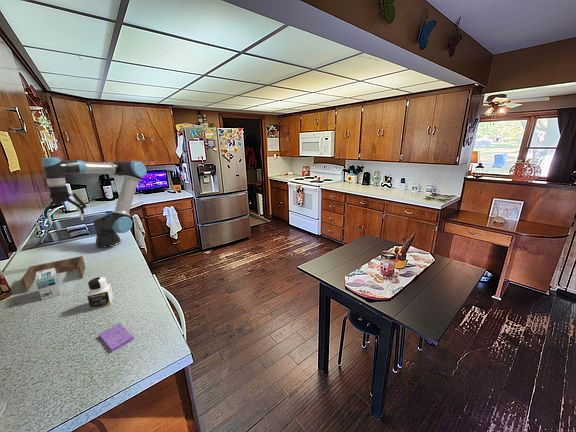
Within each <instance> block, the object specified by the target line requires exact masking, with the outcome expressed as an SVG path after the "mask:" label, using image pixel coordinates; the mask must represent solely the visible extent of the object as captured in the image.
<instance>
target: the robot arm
mask: <svg viewBox="0 0 576 432" xmlns="http://www.w3.org/2000/svg"><path fill="white" fill-rule="evenodd" d="M41 159H42V161H41V166H42V165H43V167H42V169H43V173H44V176H45V180H46V184H47V186H48V190H49V193H50V194H48V196H47V200H49V199H51V200H52V201H51V202H50V203H49V205H48V206H47V207H46V208H45V209H44V210H45V211H44V213H43V215H44V218H45V219H46V220H47V219H48V222H49V225H52V224H53V220H52V217H51V213H50V212H49V210H50V209H51V208H52V207H53V206H54V205H55V203H65V202H68V203H70V204H72V205H73V206H75V207H76V208H78V212H79V217H80V220H81V221H83V220H84V216H83V215H84V214H85V210H84V209H86V208H87V207H88V206H87V205H86V203H84V201H83V200H81V199H80V198H79V196H78V194H77V193H76V192H73V193H70V192H69V190H68V189H69V188H68V186H67V180H66V177H65V175H69V174H71V175H72V174H95V175H96V174H102V175H103V174H104V175H105V174H106V175H107V174H108V175H109V176H119V177H122V179H123V181H122V185H121V188H120V192H119V195H118V198H117V202H116V205H115V209H114V210H113V211H111V212H105V213H104V212H103V213H101V214H96V215H94V216H92V223H93V226H94V231H95V235H96V238H95V242H94V244H95V247H96V246H97V247H96V248H98V247H104V246H110V245H114V244H116V243H119V242H120V241H121V242H122V240H121V237H120V236H119V234H125V233H127V232H128V231H130V230H131V228H132V227H133V220H132V219H131V214H130V211H131V206H132V204H133V199H134V196H135V192H136V189H137V186H138V184H139V182H141V180H142V178H144V177H146V175H147V167H146V166H145V164H144V163H143V162H141V161H140V160H139V161H138V160H121V161H107V162H94V161H93V162H92V161H84V160H80V159H79V160H78V159H77V160H75V159H74V160H69V159H68V160H61V159H60V157H41ZM70 197H72V198H74V199H75V200H76V201H77V202H78V203H79V204H78V203H77V202H76V201H74V200H73V199H72V198H70ZM119 244H120V243H119Z"/></svg>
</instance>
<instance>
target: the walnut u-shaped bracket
mask: <svg viewBox="0 0 576 432" xmlns="http://www.w3.org/2000/svg"><path fill="white" fill-rule="evenodd" d="M51 268H55V270H56V273H58V274H61V273H66V272H69V271H75V270H77V272H78V275H79V276H78V277H79V279H80V280H83V279H84V274H85V269H86V264H85V260H84V257H83V256H82V255H80V256H76V257H71V258H65V259H60V260H55V261H51V262H50V261H49V262H46V263H41V264H36V265H30V266H29V267H28V269H27V270H26V271H25V272H24V275H23V276H22V277H21V278H20V282H21V286H22V289H23V291H24V293H28V292H29V291H30V289H31V287H32V286H33V284H34V283H35V281H34V280H35V277H36V272H38V271H43V270H47V269H51ZM31 285H32V286H31Z"/></svg>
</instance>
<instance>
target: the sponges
mask: <svg viewBox="0 0 576 432" xmlns="http://www.w3.org/2000/svg"><path fill="white" fill-rule="evenodd" d="M98 337H99V339H101V341H102V342H103V343H104V344H105V345H106V347H108V349H109V350H110V351H111V352H112V353H113V352H115V351H116V350H119V349H120V348H121V347H124V346H126V345H127V344H128V343H130V342H132V341H134V339H135V337H134V335H133V334H132V333H131V332H129V330H128V329H126V328H125V327H124V326H123V325H122V324H121V323H120V322H118V323H116V324H114V325H113V326H111V327H110V328H107V329H106V330H103V331H102V332H100V333H98Z"/></svg>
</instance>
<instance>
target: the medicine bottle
mask: <svg viewBox="0 0 576 432" xmlns="http://www.w3.org/2000/svg"><path fill="white" fill-rule="evenodd" d="M87 285H88V288H89V291H88V293H87V294H86V295H87V301H88V304H89V305H88V306H89V308H90V310H95V309H100V308H102V307H106V306H110V305H111V304H112V301H113V298H114V294H113V289H112V285H111V283H107V279H106V277H104V276H98V277H95V278H92V279H90V280H89V281H88V283H87Z"/></svg>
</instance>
